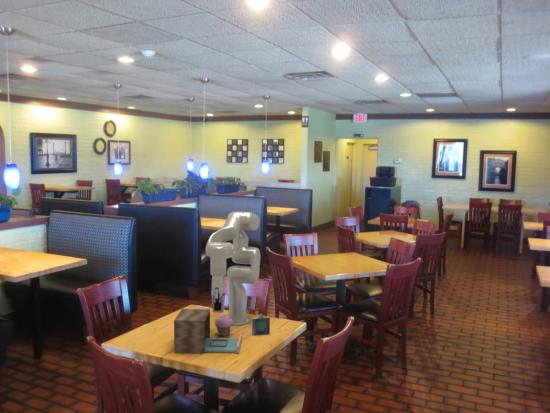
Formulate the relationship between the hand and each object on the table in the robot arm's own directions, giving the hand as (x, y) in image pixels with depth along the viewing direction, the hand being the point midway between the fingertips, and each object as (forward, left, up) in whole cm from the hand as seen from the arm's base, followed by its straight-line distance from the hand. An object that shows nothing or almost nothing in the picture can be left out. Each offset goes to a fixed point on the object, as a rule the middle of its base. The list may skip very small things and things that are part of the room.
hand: (218, 308), depth 225 cm
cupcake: (-15, +1, -19) cm, 24 cm away
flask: (-17, +20, -19) cm, 32 cm away
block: (0, 0, -1) cm, 1 cm away
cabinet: (0, -12, -19) cm, 23 cm away
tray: (0, +1, -19) cm, 19 cm away
